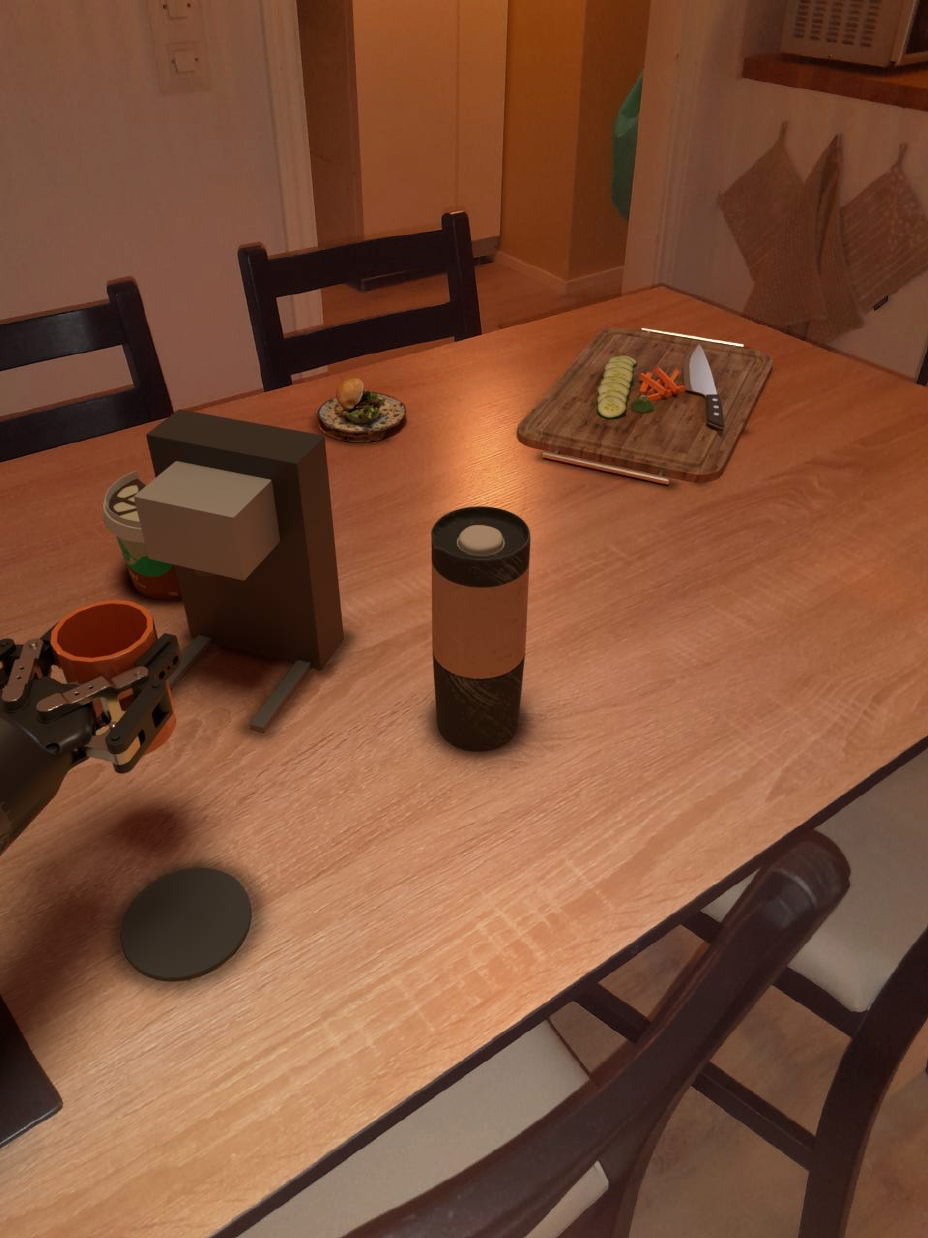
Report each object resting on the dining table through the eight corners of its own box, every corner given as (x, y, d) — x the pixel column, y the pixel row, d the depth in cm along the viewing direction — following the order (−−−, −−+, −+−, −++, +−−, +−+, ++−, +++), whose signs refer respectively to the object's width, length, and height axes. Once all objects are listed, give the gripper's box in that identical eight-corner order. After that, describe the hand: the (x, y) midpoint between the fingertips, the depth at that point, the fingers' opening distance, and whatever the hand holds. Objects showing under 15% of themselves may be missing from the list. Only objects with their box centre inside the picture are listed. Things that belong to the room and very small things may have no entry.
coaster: (94, 945, 67) (92, 940, 67) (183, 854, 74) (182, 849, 73) (192, 1005, 64) (190, 1000, 64) (277, 904, 70) (276, 899, 70)
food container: (100, 570, 102) (77, 488, 96) (153, 548, 106) (134, 468, 99) (155, 625, 95) (134, 540, 89) (211, 599, 99) (194, 516, 92)
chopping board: (608, 327, 155) (610, 308, 153) (778, 356, 147) (782, 336, 145) (502, 451, 123) (502, 429, 121) (710, 497, 115) (715, 474, 113)
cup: (63, 739, 68) (29, 640, 62) (130, 686, 72) (103, 589, 67) (130, 773, 65) (100, 673, 60) (195, 716, 70) (173, 618, 64)
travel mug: (537, 715, 86) (551, 524, 73) (490, 768, 81) (496, 573, 68) (465, 682, 89) (467, 494, 76) (416, 731, 84) (409, 538, 72)
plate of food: (395, 447, 124) (392, 393, 119) (306, 439, 125) (300, 385, 121) (415, 406, 133) (414, 354, 128) (332, 399, 135) (328, 347, 130)
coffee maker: (136, 699, 87) (76, 486, 73) (218, 609, 97) (178, 408, 84) (274, 737, 83) (238, 521, 70) (344, 639, 94) (325, 435, 80)
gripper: (40, 796, 50) (212, 610, 62) (-175, 728, 54) (28, 566, 66) (75, 886, 54) (229, 696, 67) (-124, 818, 58) (56, 650, 71)
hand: (128, 632), depth 66 cm, fingers closed on cup, 6 cm apart
